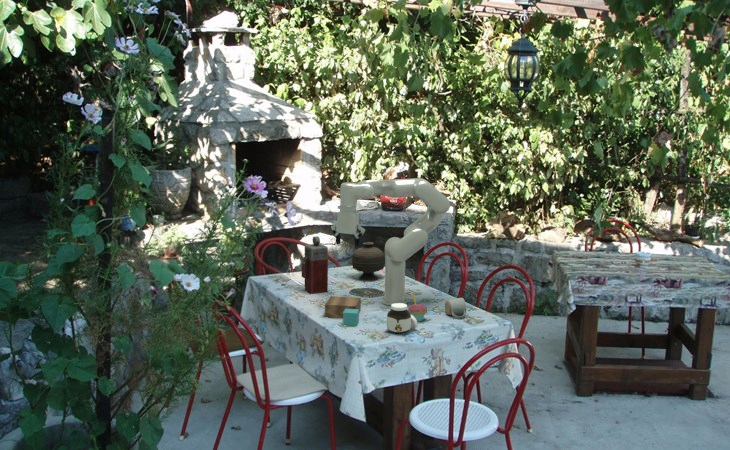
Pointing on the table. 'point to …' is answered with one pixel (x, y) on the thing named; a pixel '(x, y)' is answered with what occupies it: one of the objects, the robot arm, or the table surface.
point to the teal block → (351, 317)
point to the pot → (368, 261)
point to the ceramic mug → (455, 307)
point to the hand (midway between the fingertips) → (347, 245)
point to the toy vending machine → (315, 267)
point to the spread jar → (400, 319)
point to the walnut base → (341, 306)
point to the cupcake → (417, 310)
